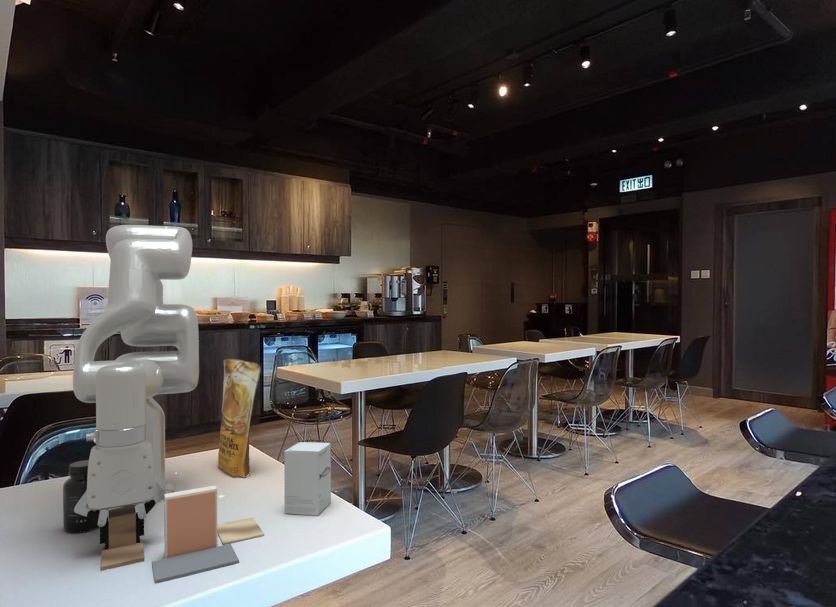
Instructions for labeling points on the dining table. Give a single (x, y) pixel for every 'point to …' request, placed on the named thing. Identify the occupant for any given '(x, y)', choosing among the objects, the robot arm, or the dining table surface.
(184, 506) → the tile
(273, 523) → the dining table surface
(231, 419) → the pancake mix bag
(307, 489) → the supplement box
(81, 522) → the supplement bottle
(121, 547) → the wooden block stack
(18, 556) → the dining table surface
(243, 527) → the pad
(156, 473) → the robot arm
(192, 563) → the mat
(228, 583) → the dining table surface
